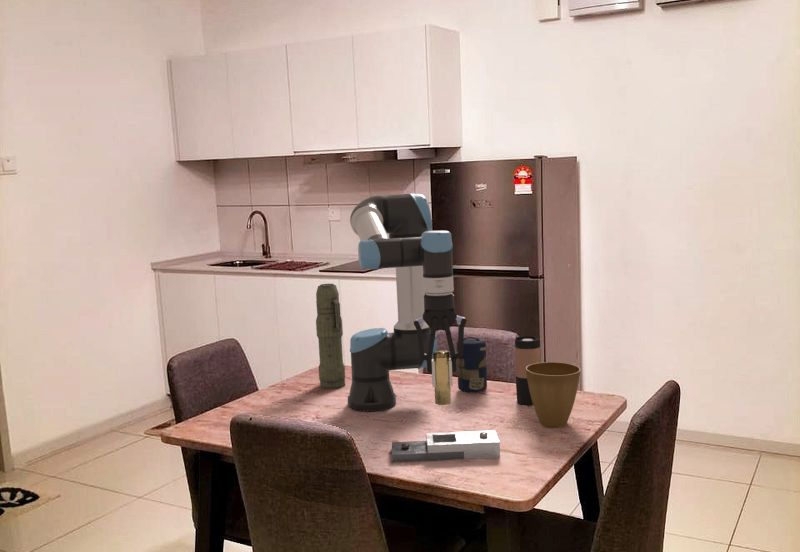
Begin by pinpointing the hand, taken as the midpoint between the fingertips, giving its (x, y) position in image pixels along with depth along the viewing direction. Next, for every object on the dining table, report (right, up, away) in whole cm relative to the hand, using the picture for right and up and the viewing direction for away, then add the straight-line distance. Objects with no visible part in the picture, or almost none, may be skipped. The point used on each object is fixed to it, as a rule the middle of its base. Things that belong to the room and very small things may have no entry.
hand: (442, 384), depth 198 cm
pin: (0, -5, +1) cm, 5 cm away
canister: (+13, -10, +57) cm, 60 cm away
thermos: (-34, -10, +71) cm, 80 cm away
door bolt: (+1, -18, +3) cm, 18 cm away
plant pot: (+32, -14, +22) cm, 41 cm away
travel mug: (+29, -11, +42) cm, 52 cm away
